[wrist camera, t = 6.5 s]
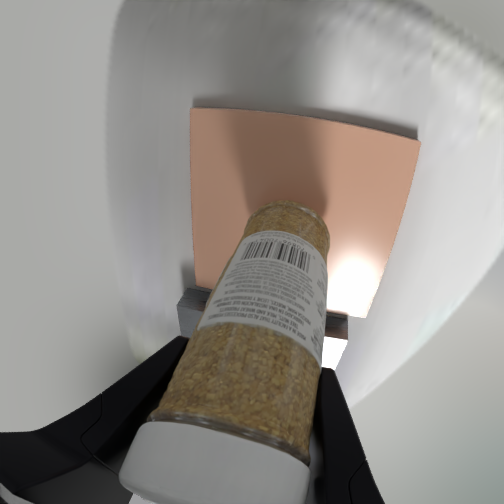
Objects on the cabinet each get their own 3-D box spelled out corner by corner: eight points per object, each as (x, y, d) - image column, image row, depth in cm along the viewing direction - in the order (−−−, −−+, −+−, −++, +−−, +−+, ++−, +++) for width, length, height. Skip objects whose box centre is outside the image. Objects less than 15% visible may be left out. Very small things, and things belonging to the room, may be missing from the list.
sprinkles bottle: (235, 251, 17) (116, 489, 6) (264, 181, 14) (103, 475, 3) (308, 284, 17) (256, 535, 6) (348, 221, 14) (339, 539, 3)
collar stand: (313, 399, 27) (310, 416, 25) (198, 374, 29) (191, 389, 27) (347, 319, 20) (347, 340, 19) (187, 288, 22) (176, 305, 21)
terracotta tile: (364, 312, 20) (365, 317, 19) (199, 280, 22) (195, 285, 21) (417, 139, 13) (421, 142, 12) (194, 107, 15) (190, 108, 14)
